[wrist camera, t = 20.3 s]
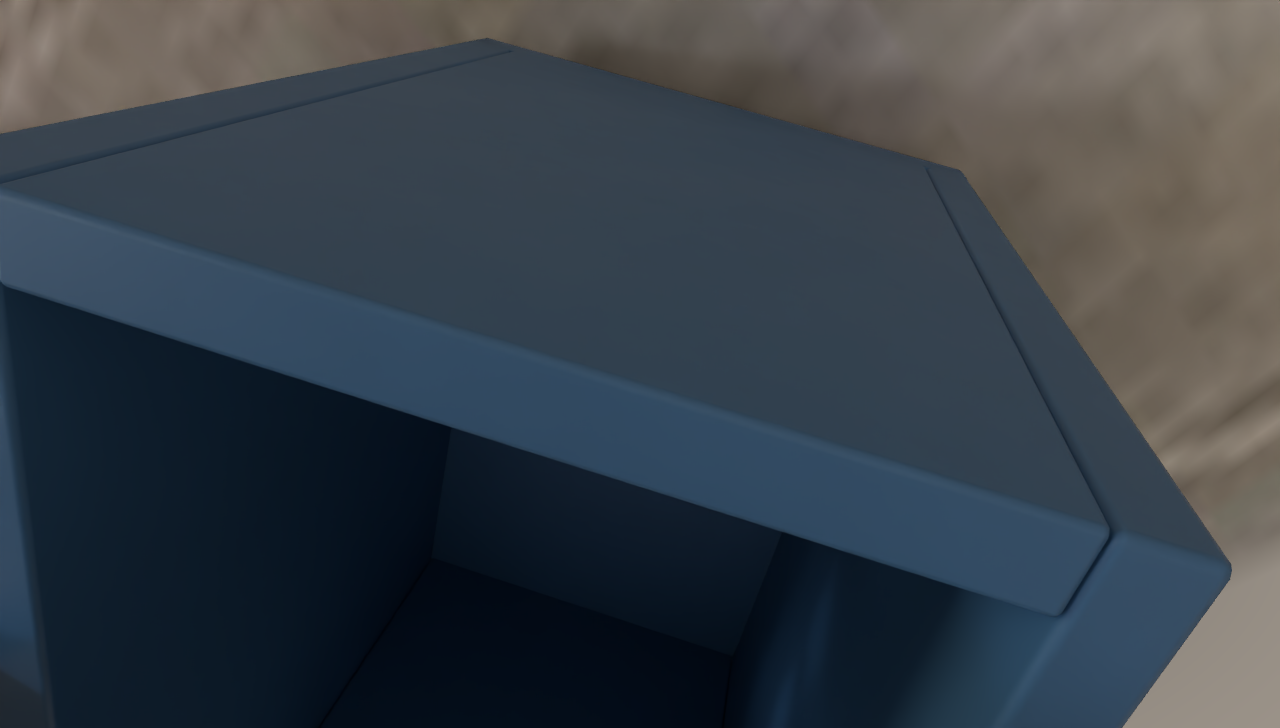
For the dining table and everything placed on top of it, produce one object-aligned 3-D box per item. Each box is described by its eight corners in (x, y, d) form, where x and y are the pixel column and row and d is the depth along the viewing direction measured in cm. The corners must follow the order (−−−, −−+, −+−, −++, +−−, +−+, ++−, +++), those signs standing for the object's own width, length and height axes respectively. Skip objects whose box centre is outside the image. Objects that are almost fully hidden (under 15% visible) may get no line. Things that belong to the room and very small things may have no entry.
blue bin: (485, 36, 12) (-119, 153, 4) (963, 169, 12) (1246, 571, 4) (412, 552, 17) (45, 1070, 9) (757, 665, 16) (693, 1320, 8)
